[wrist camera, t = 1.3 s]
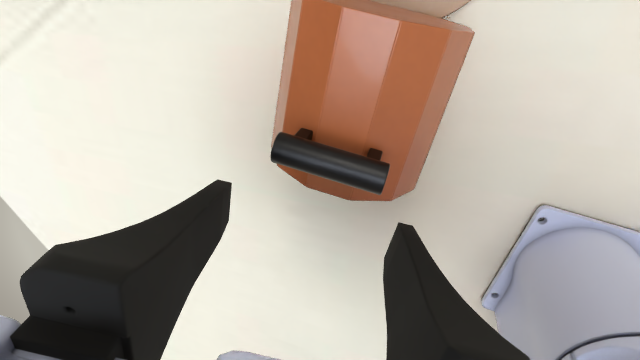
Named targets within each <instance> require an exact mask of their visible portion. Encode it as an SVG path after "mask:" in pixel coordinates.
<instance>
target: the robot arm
mask: <svg viewBox="0 0 640 360" xmlns="http://www.w3.org/2000/svg"><path fill="white" fill-rule="evenodd" d="M231 185H232V183H230V182H226V181H221V180H216V181H214V182H213V183H211V184H210V185H208V186H207V187H205V188H204V189H202V190H201V191H199V192H197V193H196V194H194V195H193V196H191V197H189V198H188V199H186V200H185V201H183V202H181V203H180V204H178V205H176V206H174V207H172V208H170V209H169V210H167V211H165V212H163V213H161V214H159V215H157V216H155V217H152V218H150V219H148V220H145V221H143V222H141V223H138V224H135V225H132V226H129V227H127V228H124V229H121V230H118V231H115V232H111V233H108V234H104V235H101V236H97V237H93V238H89V239H84V240H79V241H74V242H69V243H64V244H58V245H55V246H54V247H52V248H51V249H50V250H49V251H48V252H46V253H45V254H44V255H43V256H42V257H41V258H40V259H39V260H38V261H37V262H36V263H34V264H33V265H32V267H30V268H29V269H28V270H27V271H26V272H25V273H24V274H23V275H22V276H21V279H20V287H21V292H22V294H23V297H24V300H25V302H26V305H27V308H28V310H29V313H30V316H29V317H28V318H27V319H26V320H25V321H24V323H23V324H22V325H21V324H20V323H19V322H18V321H17V320H15V319H12V318H10V317H5V316H1V315H0V360H160V359H161V357H162V354H163V352H164V349H165V347H166V345H167V342H168V340H169V338H170V335H171V333H172V330H173V328H174V326H175V324H176V321H177V319H178V317H179V315H180V312H181V310H182V308H183V306H184V304H185V302H186V299H187V297H188V295H189V293H190V291H191V289H192V287H193V285H194V283H195V281H196V280H197V278H198V276H199V275H200V273H201V271H202V270H203V268H204V266H205V265H206V263H207V262H208V260H209V258H210V257H211V255H212V253H213V252H214V250H215V248H216V246H217V245H218V243H219V241H220V239H221V237H222V235H223V233H224V230H225V228H226V226H227V223H228V221H229V210H230V198H231ZM542 217H543V218H545V219H544V220H543V221H538V219H539V218H542ZM383 283H384V297H385V309H386V322H387V360H640V232H637V231H634V230H630V229H627V228H623V227H620V226H617V225H613V224H610V223H606V222H603V221H599V220H596V219H593V218H589V217H586V216H582V215H579V214H576V213H572V212H569V211H565V210H562V209H559V208H555V207H552V206H548V205H543V206H540V207H539V208H538V209H537V210H536V211H535V213H534V215H533V216H532V218H531V220H530V221H529V223H528V225H527V226H526V228H525V229H524V231H523V233H522V234H521V236H520V238H519V239H518V241H517V243H516V244H515V246H514V247H513V249H512V251H511V252H510V254H509V256H508V257H507V259H506V261H505V262H504V264H503V265H502V267H501V269H500V270H499V272H498V274H497V275H496V277H495V279H494V280H493V282H492V283H491V285H490V287H489V288H488V290H487V292H486V293H485V295H484V297H483V298H482V306H483V307H484V308H486V309H489V310H492V311H495V316H496V321H497V326H498V330H499V333H498V332H497V331H496V330H494V329H493V328H492V327H491V326H490V325H489V324H488V323H486V322H485V321H484V320H483V319H482V318H481V317H480V316H479V315H478V314H477V313H476V312H475V311H474V310H473V309H472V308H471V307H470V306H469V305H468V304H467V303H466V302H465V301H464V299H463V298H462V297H461V296H460V295H459V294H458V292H457V291H456V290H455V289H454V288H453V287H452V285H451V284H450V283H449V281H448V280H447V279H446V277H445V276H444V275H443V273H442V272H441V271H440V269H439V268H438V266H437V265H436V263H435V262H434V260H433V259H432V257H431V256H430V254H429V252H428V251H427V249H426V247H425V246H424V244H423V242H422V241H421V239H420V237H419V235H418V234H417V232H416V230H415V229H414V227H413V226H411V225H407V224H403V223H398V225H397V228H396V230H395V233H394V235H393V237H392V240H391V242H390V245H389V247H388V250H387V252H386V255H385V257H384V272H383ZM492 293H497V294H492ZM217 360H280V359H276V358H271V357H267V356H263V355H259V354H255V353H250V352H245V351H230V352H227V353H224V354H221V355H219V357H218V358H217Z"/></svg>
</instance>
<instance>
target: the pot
mask: <svg viewBox="0 0 640 360" xmlns="http://www.w3.org/2000/svg"><path fill="white" fill-rule="evenodd" d="M474 34H475V32H474V31H472V30H471V29H470V28H469V27H466V26H463V25H460V24H457V23H454V22H451V21H448V20H445V19H441V18H437V17H434V16H430V15H426V14H422V13H419V12H415V11H411V10H407V9H403V8H399V7H394V6H390V5H386V4H382V3H377V2H373V1H368V0H292V1H291V8H290V15H289V22H288V29H287V37H286V44H285V51H284V58H283V65H282V72H281V80H280V87H279V94H278V101H277V108H276V115H275V123H274V130H273V137H272V144H271V147H272V150H271V161H272V162H273V163H277V166H278V167H279V168H281V169H282V170H284V171H285V172H286V173H288V174H289V175H290V176H292V177H293V178H295V179H296V180H297V181H299V182H300V183H301V184H303V185H304V186H306V187H308V188H311V189H314V190H318V191H321V192H324V193H327V194H330V195H334V196H337V197H340V198H343V199H346V200H352V201H392V200H394V199H396V198H398V197H400V196H402V195H404V194H406V193H408V192H410V191H412V190H414V188H415V186H416V183H417V181H418V178H419V176H420V173H421V170H422V168H423V165H424V163H425V160H426V157H427V155H428V152H429V150H430V147H431V145H432V142H433V139H434V137H435V134H436V132H437V129H438V126H439V124H440V121H441V119H442V116H443V114H444V111H445V108H446V106H447V103H448V101H449V98H450V96H451V93H452V90H453V88H454V85H455V83H456V80H457V77H458V75H459V72H460V70H461V67H462V65H463V62H464V59H465V57H466V54H467V52H468V49H469V46H470V44H471V41H472V39H473V36H474Z"/></svg>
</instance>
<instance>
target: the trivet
mask: <svg viewBox="0 0 640 360" xmlns="http://www.w3.org/2000/svg"><path fill="white" fill-rule="evenodd" d="M368 1H373V2H377V3H382V4H386V5H390V6H394V7H399V8H403V9H407V10H411V11H415V12H419V13H422V14H426V15H430V16H434V17H437V18H442V17H444V16H447V15H448V14H450V13H452V12H454V11H456V10H458V9H459V8H461V7H462V6H464V5H465V4H466V3H468V2H469V1H471V0H368Z"/></svg>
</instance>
